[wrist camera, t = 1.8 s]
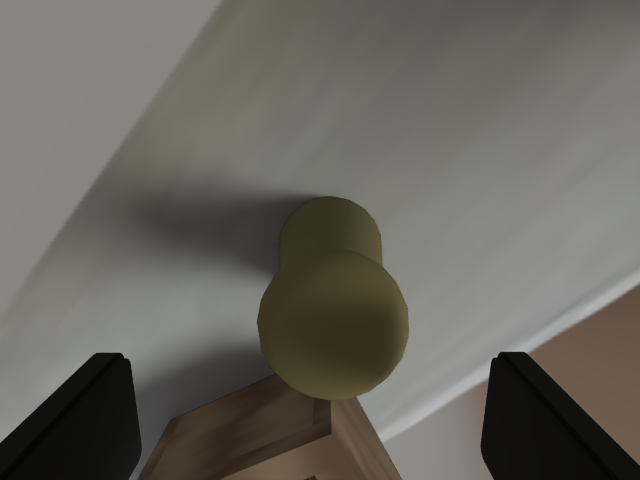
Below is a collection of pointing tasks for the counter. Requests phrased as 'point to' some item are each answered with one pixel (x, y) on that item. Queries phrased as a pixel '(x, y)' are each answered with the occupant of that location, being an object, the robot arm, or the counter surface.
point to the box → (271, 439)
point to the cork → (332, 304)
